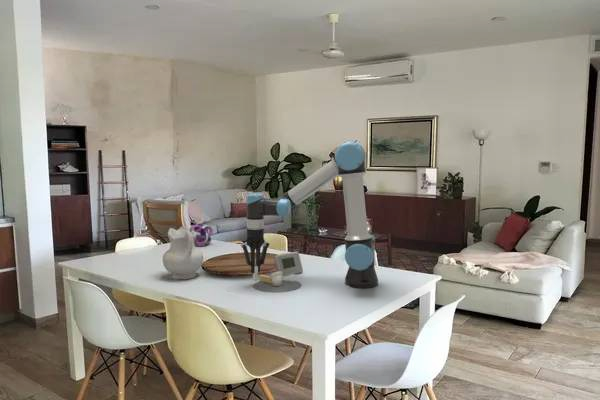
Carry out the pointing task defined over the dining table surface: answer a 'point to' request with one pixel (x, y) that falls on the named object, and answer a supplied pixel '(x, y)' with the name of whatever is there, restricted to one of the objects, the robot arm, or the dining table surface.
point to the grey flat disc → (285, 287)
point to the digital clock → (288, 263)
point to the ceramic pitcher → (182, 254)
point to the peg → (272, 278)
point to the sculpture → (202, 234)
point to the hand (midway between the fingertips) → (255, 279)
